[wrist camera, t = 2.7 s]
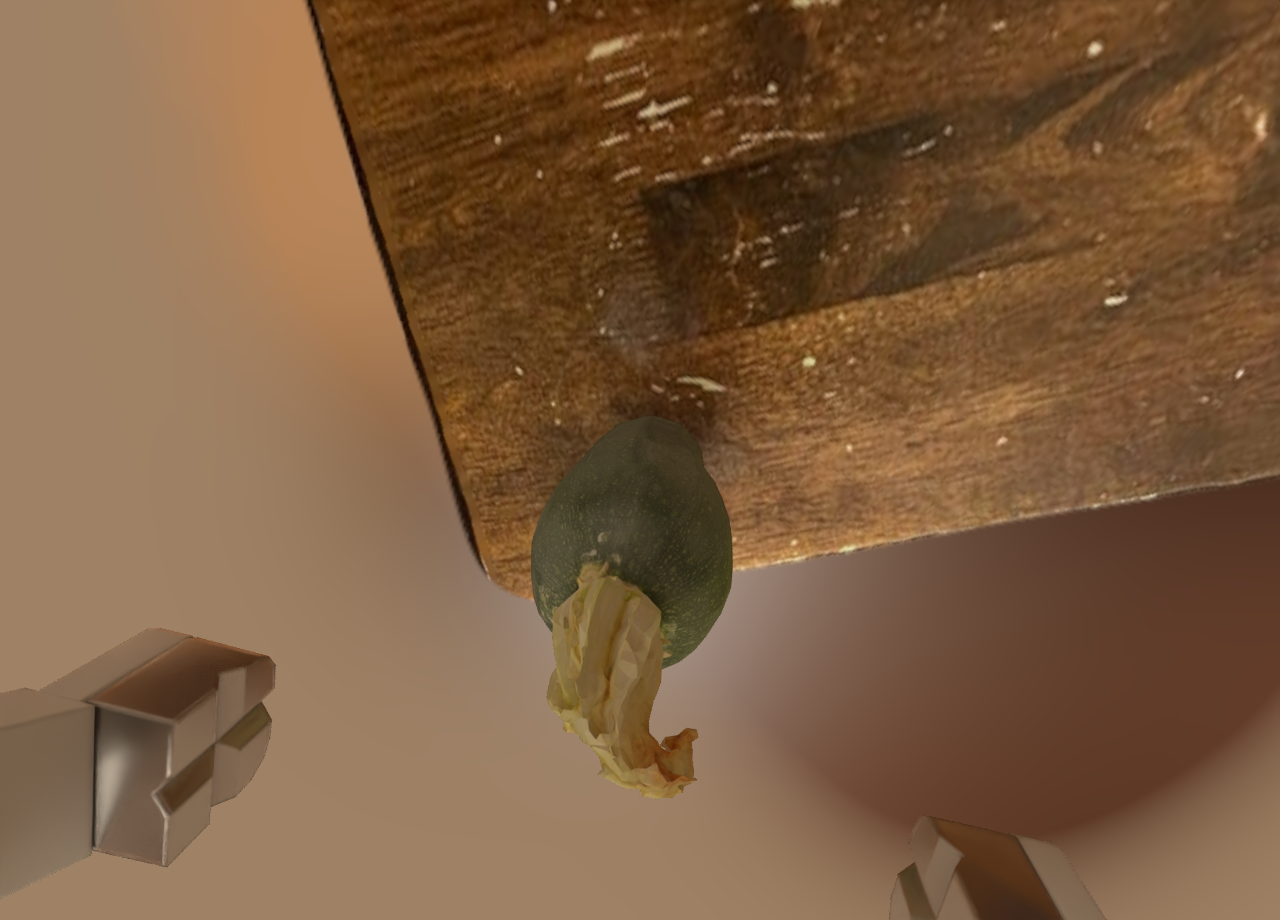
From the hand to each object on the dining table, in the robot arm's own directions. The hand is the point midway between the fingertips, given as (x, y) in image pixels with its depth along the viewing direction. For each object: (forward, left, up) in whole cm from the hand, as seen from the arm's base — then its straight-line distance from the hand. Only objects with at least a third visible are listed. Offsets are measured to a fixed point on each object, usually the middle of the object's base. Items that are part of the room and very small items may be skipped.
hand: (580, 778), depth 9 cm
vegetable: (0, 0, -21) cm, 21 cm away
